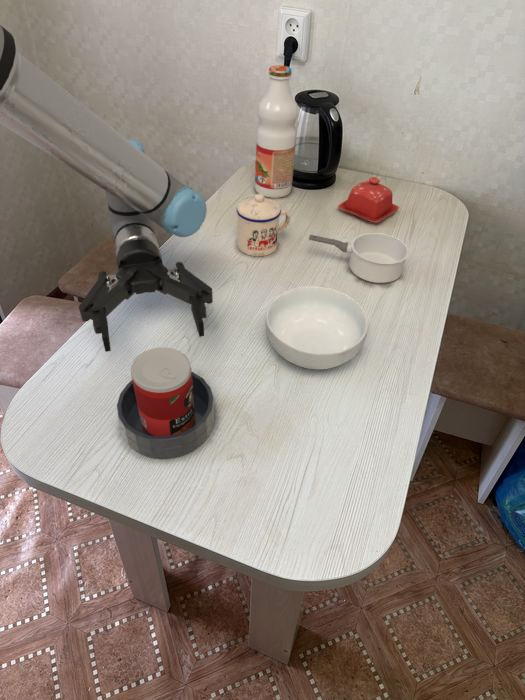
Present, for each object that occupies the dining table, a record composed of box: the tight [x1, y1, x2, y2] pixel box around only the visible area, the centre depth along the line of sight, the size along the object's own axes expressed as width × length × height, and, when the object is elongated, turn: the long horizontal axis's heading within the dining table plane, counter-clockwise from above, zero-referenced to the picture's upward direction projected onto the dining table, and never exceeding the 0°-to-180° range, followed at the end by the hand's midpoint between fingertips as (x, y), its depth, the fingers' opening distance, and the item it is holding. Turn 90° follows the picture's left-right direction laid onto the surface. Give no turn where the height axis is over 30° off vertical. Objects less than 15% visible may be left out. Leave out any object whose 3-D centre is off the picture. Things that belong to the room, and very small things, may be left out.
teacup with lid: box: [235, 193, 291, 257], centre depth 105 cm, size 12×9×12 cm
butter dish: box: [337, 176, 400, 224], centre depth 119 cm, size 12×12×8 cm
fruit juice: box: [254, 64, 299, 199], centre depth 119 cm, size 9×9×28 cm
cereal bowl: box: [264, 285, 369, 370], centre depth 84 cm, size 17×17×7 cm
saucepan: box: [308, 232, 410, 284], centre depth 103 cm, size 12×20×6 cm, turn 76°
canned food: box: [130, 347, 195, 436], centre depth 70 cm, size 8×8×11 cm
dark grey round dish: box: [116, 371, 215, 460], centre depth 72 cm, size 13×13×4 cm
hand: (155, 337), depth 73 cm, fingers open, 13 cm apart
